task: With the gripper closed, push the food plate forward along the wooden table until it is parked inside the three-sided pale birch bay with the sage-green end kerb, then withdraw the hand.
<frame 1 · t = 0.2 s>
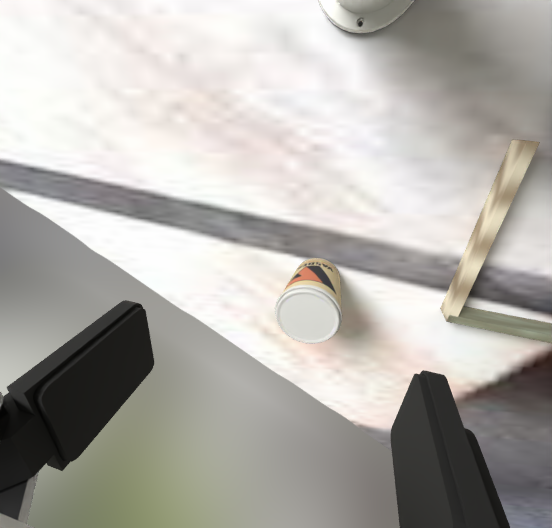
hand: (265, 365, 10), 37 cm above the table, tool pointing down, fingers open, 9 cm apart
coffee cup: (317, 277, 49), on the table
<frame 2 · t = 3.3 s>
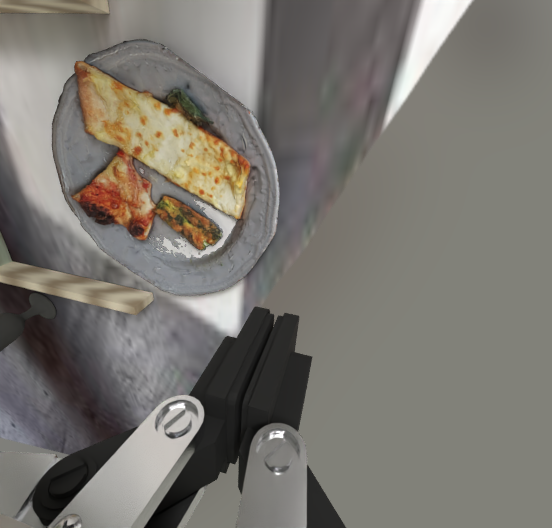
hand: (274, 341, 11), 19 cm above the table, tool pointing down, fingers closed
food plate: (170, 186, 31), on the table
bay: (41, 169, 34), on the table
sundae: (44, 305, 46), on the table
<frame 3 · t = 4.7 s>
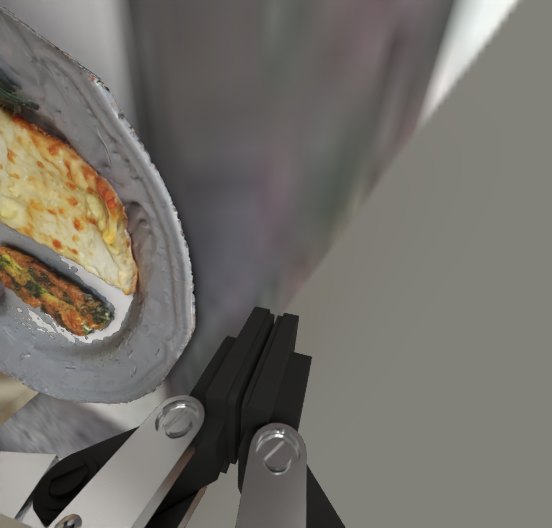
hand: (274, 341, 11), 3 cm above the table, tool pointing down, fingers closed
food plate: (16, 227, 17), on the table
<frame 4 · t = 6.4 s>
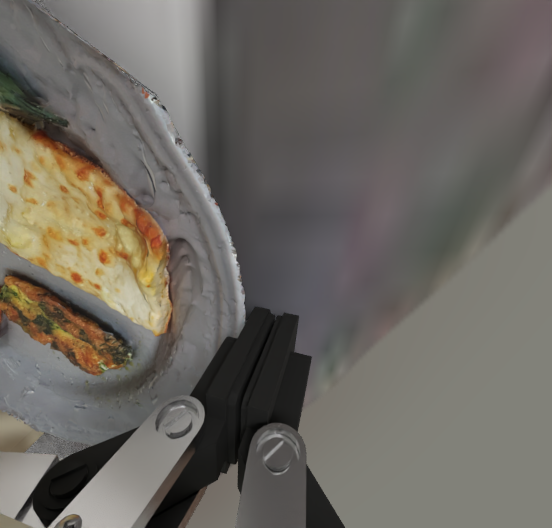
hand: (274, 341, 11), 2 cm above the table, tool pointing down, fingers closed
food plate: (25, 253, 15), on the table, touching gripper
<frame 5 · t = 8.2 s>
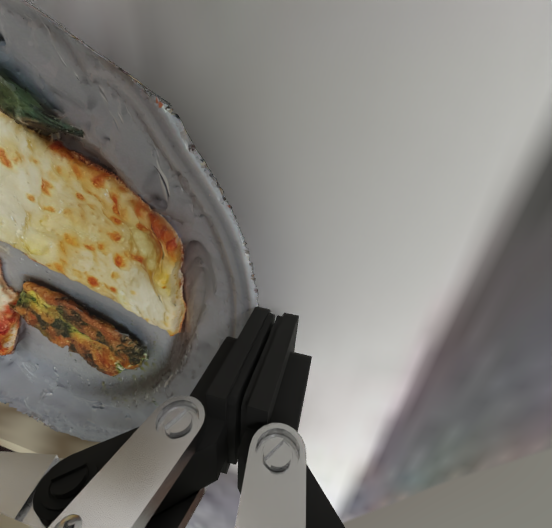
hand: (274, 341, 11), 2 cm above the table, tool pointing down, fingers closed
food plate: (41, 259, 15), on the table, touching gripper
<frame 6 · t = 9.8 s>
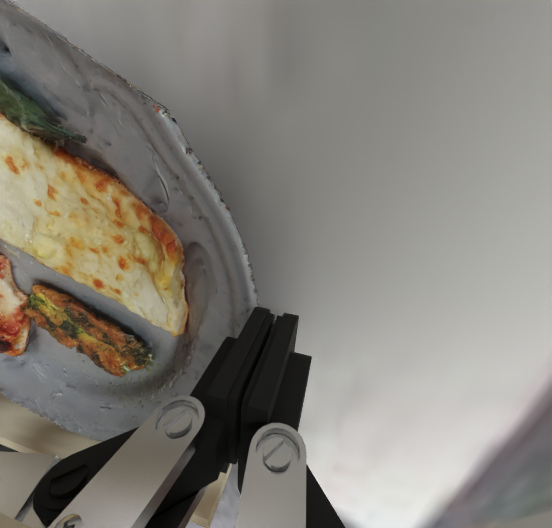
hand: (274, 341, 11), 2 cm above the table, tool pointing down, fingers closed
food plate: (50, 263, 16), on the table, touching gripper
bay: (6, 231, 15), on the table
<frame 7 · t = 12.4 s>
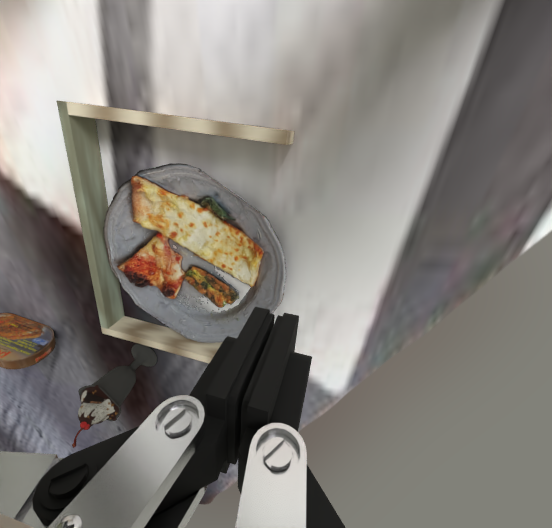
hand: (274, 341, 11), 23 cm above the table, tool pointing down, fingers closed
food plate: (197, 258, 39), on the table
bay: (183, 247, 38), on the table
sundae: (145, 354, 49), on the table
tin: (33, 325, 53), on the table
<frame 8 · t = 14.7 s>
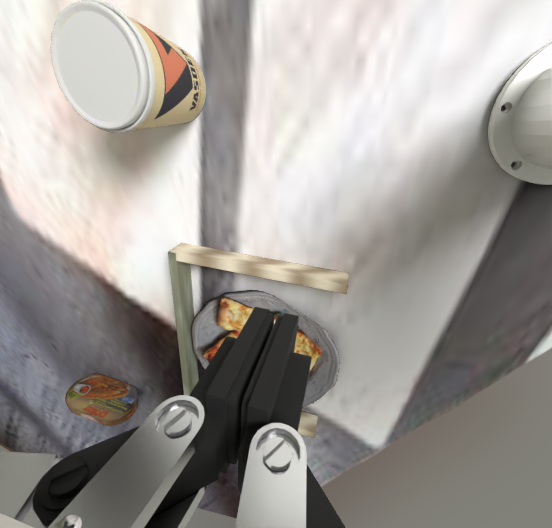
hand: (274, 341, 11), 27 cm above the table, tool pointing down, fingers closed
coffee cup: (177, 87, 34), on the table
food plate: (264, 346, 49), on the table
bay: (253, 339, 48), on the table
tin: (118, 383, 65), on the table
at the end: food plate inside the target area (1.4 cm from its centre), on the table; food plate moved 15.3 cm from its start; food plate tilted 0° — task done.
